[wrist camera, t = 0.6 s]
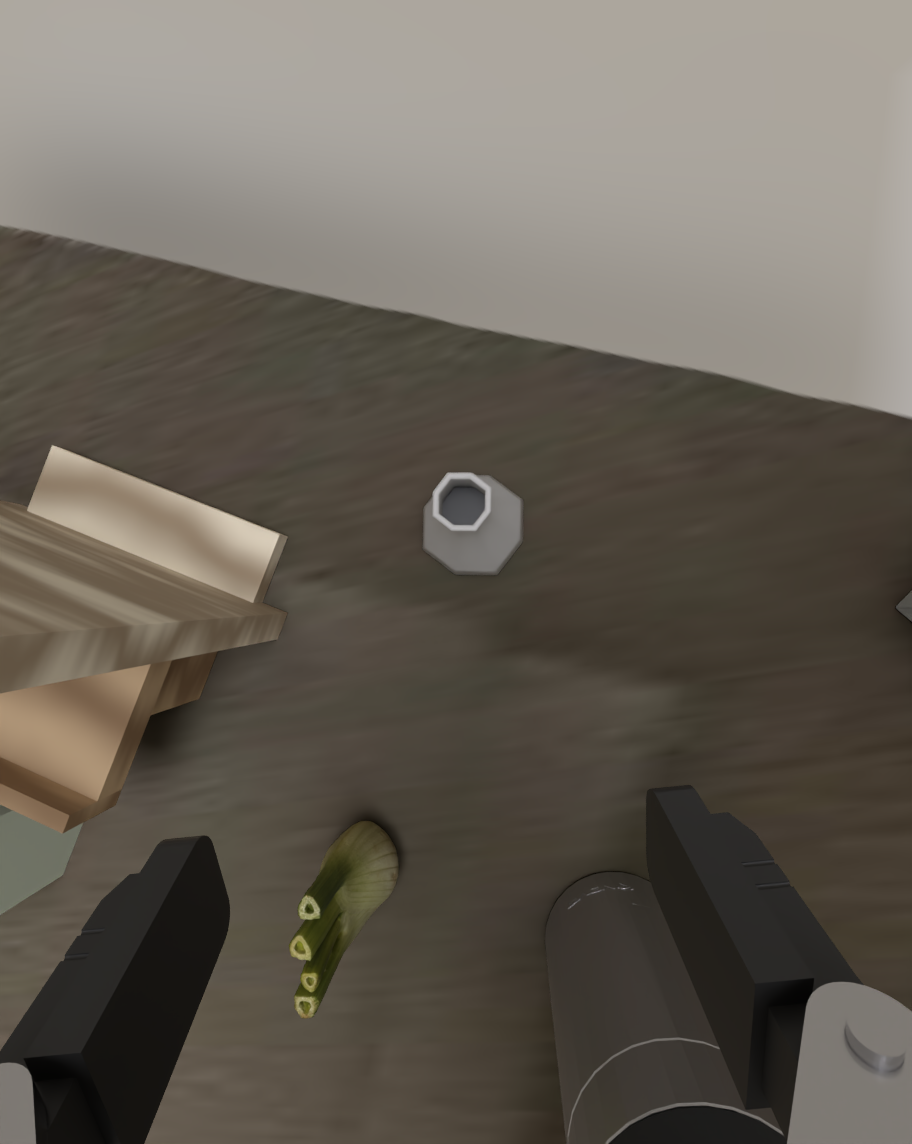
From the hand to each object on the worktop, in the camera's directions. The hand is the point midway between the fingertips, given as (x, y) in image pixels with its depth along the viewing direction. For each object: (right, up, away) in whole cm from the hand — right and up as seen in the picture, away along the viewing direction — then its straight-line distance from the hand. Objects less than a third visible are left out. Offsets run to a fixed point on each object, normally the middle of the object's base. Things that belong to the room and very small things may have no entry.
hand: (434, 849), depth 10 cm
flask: (+2, +8, +29) cm, 30 cm away
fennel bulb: (-6, -14, +29) cm, 33 cm away
